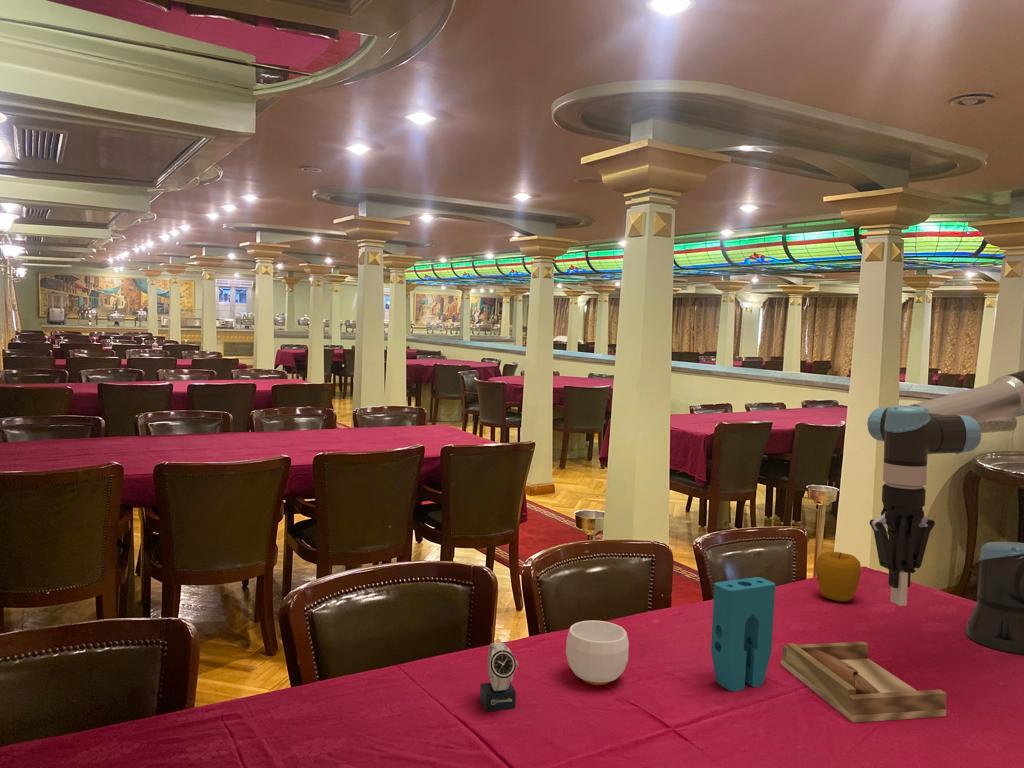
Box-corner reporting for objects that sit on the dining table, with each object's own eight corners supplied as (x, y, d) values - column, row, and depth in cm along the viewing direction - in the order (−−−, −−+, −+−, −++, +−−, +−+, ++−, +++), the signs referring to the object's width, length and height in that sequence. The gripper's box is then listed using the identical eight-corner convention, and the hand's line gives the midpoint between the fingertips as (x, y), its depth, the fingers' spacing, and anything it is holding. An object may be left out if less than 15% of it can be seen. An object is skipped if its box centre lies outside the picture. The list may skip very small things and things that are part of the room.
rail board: (862, 660, 161) (863, 636, 161) (945, 716, 137) (947, 688, 137) (781, 664, 158) (782, 640, 157) (852, 722, 134) (854, 694, 134)
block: (754, 672, 153) (759, 576, 152) (772, 683, 149) (777, 584, 147) (707, 682, 148) (712, 583, 147) (724, 693, 144) (729, 591, 142)
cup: (639, 679, 148) (642, 631, 148) (602, 700, 139) (605, 649, 139) (589, 659, 157) (591, 614, 156) (552, 678, 148) (553, 630, 147)
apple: (819, 604, 195) (822, 556, 194) (810, 591, 206) (812, 544, 205) (864, 608, 193) (867, 559, 193) (852, 594, 204) (855, 548, 203)
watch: (488, 717, 132) (490, 655, 131) (477, 695, 139) (479, 637, 139) (518, 713, 133) (521, 653, 133) (506, 692, 141) (508, 635, 140)
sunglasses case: (892, 701, 139) (877, 672, 138) (861, 722, 138) (846, 692, 137) (834, 660, 157) (821, 633, 156) (807, 678, 156) (793, 651, 155)
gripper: (919, 480, 151) (914, 594, 153) (861, 482, 149) (856, 598, 150) (947, 488, 144) (941, 608, 145) (887, 489, 141) (881, 612, 143)
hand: (898, 603), depth 148 cm, fingers closed
